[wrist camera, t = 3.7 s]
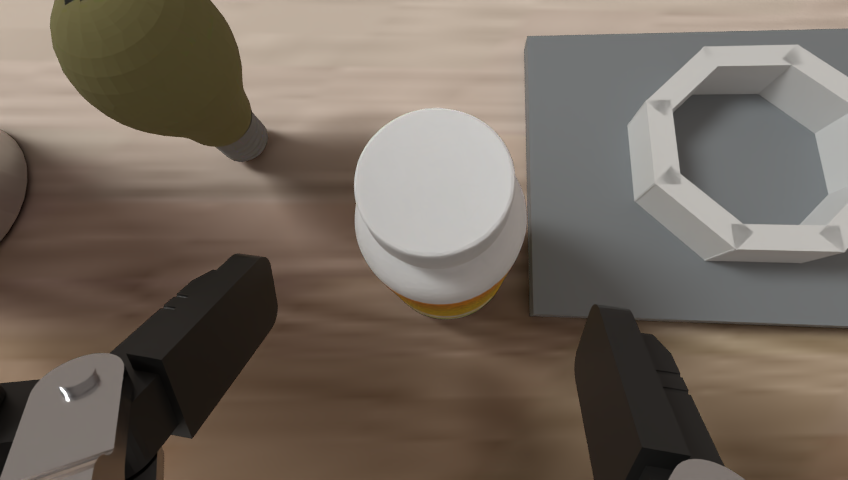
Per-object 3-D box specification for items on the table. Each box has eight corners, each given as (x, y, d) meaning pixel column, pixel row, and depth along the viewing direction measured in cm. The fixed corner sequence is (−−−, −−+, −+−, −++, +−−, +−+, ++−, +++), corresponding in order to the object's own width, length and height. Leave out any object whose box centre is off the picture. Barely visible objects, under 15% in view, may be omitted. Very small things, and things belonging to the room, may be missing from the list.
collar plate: (529, 316, 18) (542, 309, 15) (524, 50, 22) (533, 4, 19) (983, 333, 17) (1094, 329, 14) (896, 42, 20) (969, -10, 17)
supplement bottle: (519, 303, 18) (581, 253, 9) (404, 333, 19) (348, 316, 9) (485, 195, 20) (507, 57, 11) (378, 224, 20) (307, 113, 11)
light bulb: (216, 214, 21) (8, 97, 11) (189, 127, 22) (-14, -42, 13) (317, 170, 21) (197, 17, 11) (283, 86, 23) (153, -111, 13)
